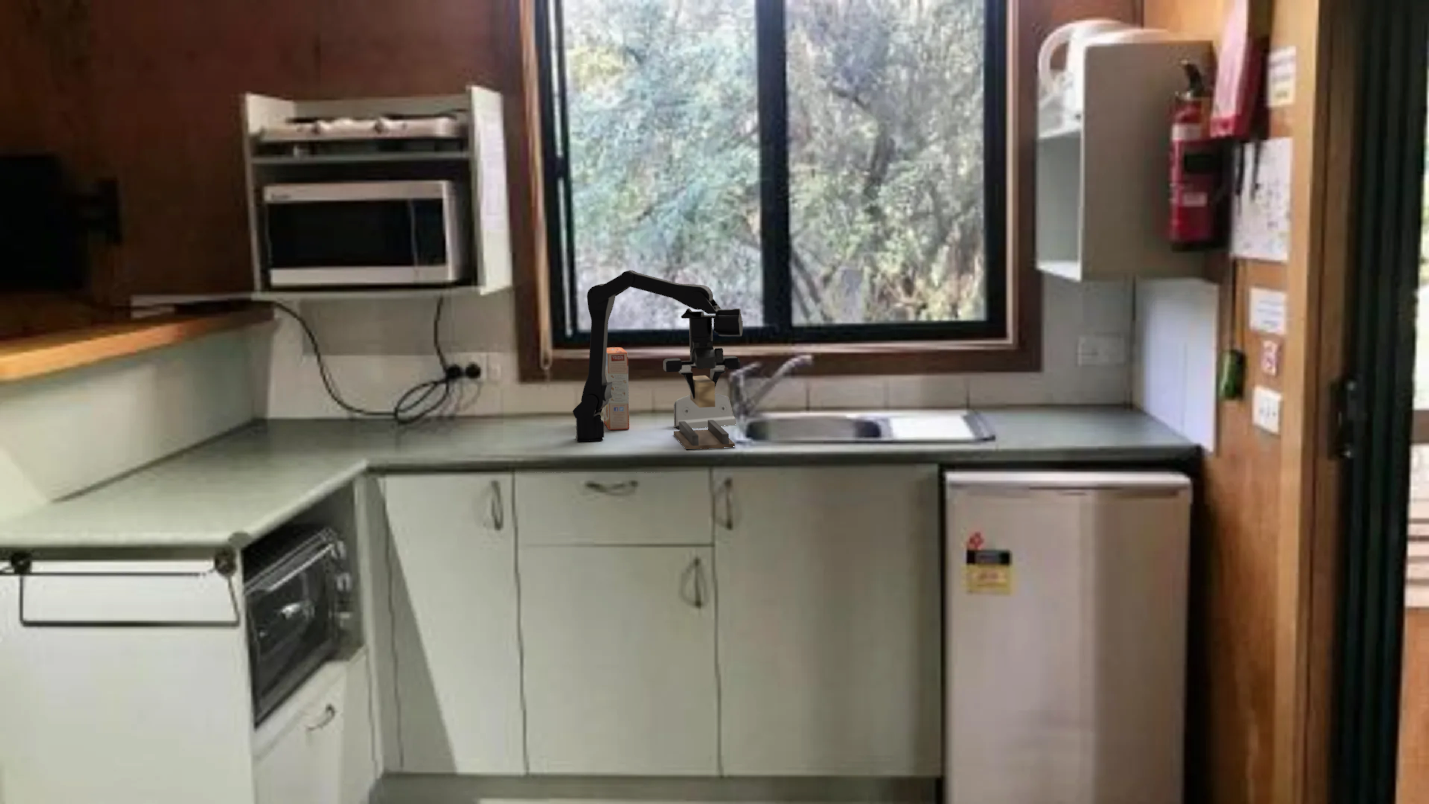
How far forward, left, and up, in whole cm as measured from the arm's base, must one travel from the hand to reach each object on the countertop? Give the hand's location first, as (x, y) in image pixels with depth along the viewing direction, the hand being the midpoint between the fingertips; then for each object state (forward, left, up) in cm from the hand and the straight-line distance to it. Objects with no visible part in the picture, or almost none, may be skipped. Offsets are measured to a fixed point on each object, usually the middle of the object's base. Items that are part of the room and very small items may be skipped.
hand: (702, 398), depth 334 cm
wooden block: (0, 0, -1) cm, 1 cm away
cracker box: (-19, +29, -11) cm, 36 cm away
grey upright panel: (+4, +24, -11) cm, 27 cm away
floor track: (0, 0, -11) cm, 11 cm away
